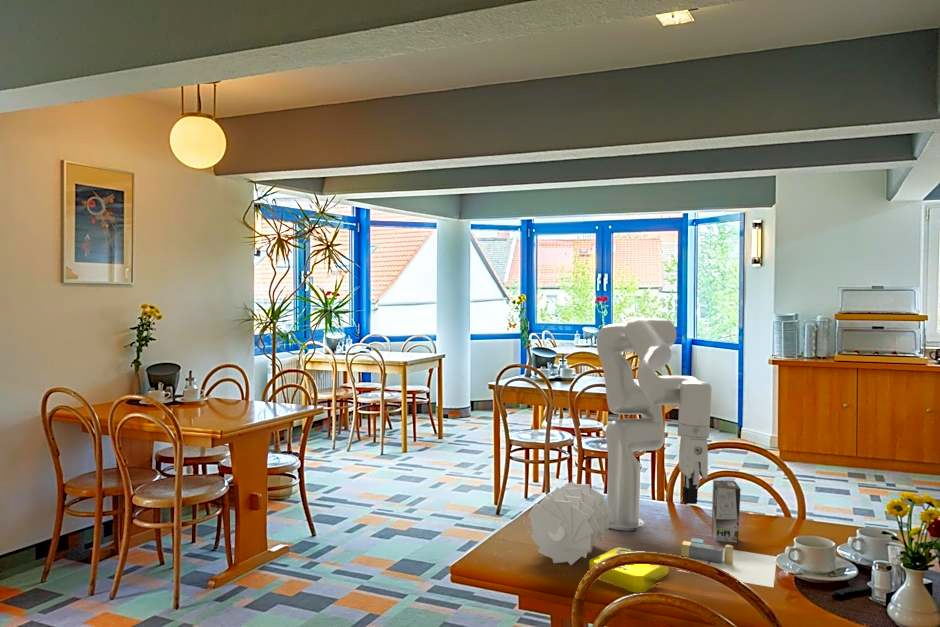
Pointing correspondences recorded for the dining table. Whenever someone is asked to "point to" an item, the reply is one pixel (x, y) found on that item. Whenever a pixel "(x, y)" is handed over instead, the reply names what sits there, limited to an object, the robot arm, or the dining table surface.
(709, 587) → the dining table surface
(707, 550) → the bar
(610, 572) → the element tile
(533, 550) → the dining table surface
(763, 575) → the latch board
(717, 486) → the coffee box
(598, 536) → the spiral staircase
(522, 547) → the dining table surface
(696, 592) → the dining table surface
